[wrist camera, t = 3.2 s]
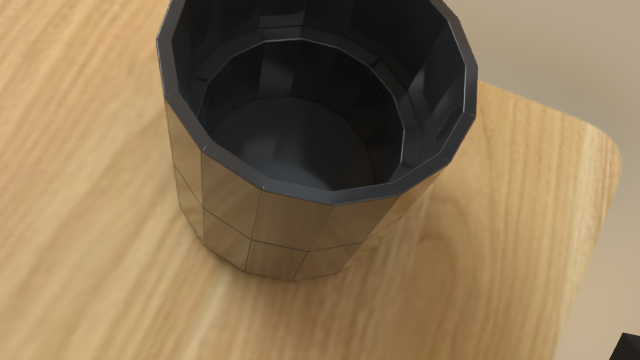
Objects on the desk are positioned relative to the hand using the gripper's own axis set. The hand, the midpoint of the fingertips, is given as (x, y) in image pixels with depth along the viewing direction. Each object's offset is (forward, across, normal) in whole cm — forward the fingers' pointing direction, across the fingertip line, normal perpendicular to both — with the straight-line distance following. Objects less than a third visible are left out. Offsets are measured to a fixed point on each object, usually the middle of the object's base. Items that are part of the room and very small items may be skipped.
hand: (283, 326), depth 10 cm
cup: (+17, 0, -3) cm, 17 cm away
